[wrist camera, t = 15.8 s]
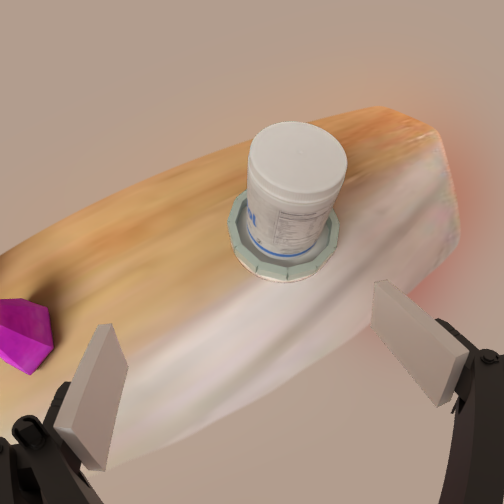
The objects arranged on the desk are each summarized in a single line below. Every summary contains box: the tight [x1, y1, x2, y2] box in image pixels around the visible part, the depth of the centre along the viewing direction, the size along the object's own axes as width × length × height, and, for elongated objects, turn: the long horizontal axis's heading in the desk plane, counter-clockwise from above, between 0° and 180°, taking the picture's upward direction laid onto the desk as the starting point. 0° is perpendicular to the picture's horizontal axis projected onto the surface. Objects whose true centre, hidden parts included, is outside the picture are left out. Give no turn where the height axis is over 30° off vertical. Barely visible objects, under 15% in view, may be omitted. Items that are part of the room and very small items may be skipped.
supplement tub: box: [247, 121, 347, 260], centre depth 34 cm, size 10×10×15 cm
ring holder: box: [227, 189, 340, 283], centre depth 40 cm, size 14×14×3 cm
